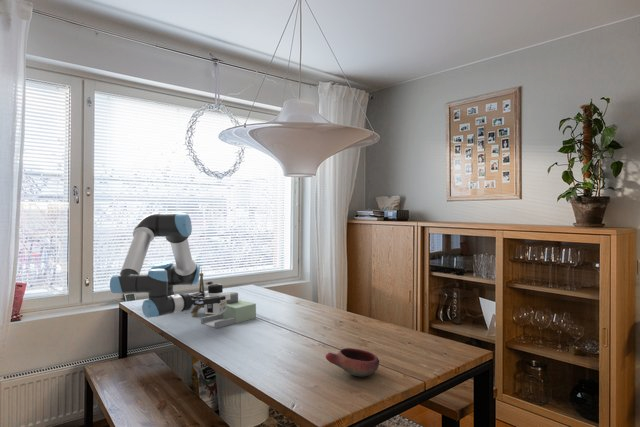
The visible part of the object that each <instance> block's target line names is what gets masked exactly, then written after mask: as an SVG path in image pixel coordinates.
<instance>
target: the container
mask: <svg viewBox="0 0 640 427" xmlns="http://www.w3.org/2000/svg"><path fill="white" fill-rule="evenodd" d="M223 289H224V286H223V285H222V284H221V283H212V284H209V285H208V287H207V292H208V294H209V295H208V296H206V297H214V296H218V295H223V293H224V292H223ZM203 309H204V314H206V315H208V314H221V313H223V312H225V311H226V310H227V305H226V300H225V301H220V303H219V304H218V303H215V304H207V305H204V308H203Z"/></svg>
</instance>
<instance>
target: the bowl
mask: <svg viewBox="0 0 640 427" xmlns="http://www.w3.org/2000/svg"><path fill="white" fill-rule="evenodd" d="M325 359H326V360H327V361H328V362H329V363H331V364H332V365H334V366H337V367H338V368H340V369H342V370H344V371H345V372H346V373H347V374H350V375H352V376H355V377H358V378H359V377H361V378H362V377H367V376H370V375H372V374H375V373H376V371H377V370H378V369H379V367H380V360H379V358H378V356H377V355H376V354H375V353H373V352H371V351H369V350H368V351H367V350H364V349H358V348H354V347H353V348H350V347H348V348H347V347H345V348H341V349H340V350H338V352H337V353H333V352H328V353H326V354H325Z"/></svg>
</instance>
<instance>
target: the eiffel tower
mask: <svg viewBox="0 0 640 427" xmlns="http://www.w3.org/2000/svg"><path fill="white" fill-rule="evenodd" d="M203 276H204V273H203V271H202V267H200V274H199V290H198V292H200V293H201V291H204V292H205V286H204V277H203ZM200 309H204V305H201V306H198V305H194V307H193V308H192V310H191V311H190V314H191V317H192V318H197V317H199V316H198V312H199V311H200ZM209 315H210V316H212V314H207V316H209Z"/></svg>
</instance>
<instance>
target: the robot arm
mask: <svg viewBox="0 0 640 427" xmlns="http://www.w3.org/2000/svg"><path fill="white" fill-rule="evenodd" d="M192 230H193V226H192V220H191V217H190V215H189V214H188V213H186V212H155V213H151V214H148V215H146V216H145V217H143V218H142V219H141V220H140V221H138V223H137V224H136V226H135V227H134V229H133V232H132V236H133V238H132V241H131V243H130V245H129V248H128V251H127V255H126V257H125V259H124V262H123V265H122V267H121V269H120V272H119V274H115V275H112V276H111V278H110V280H109V289H110V292H111V293H112V294H118V295H119V294H121V295H123V294H143V293H144V294H145V293H148V298H147V299H145V300H144V301H142V305H141V309H142V314H143V315H144V317H146V318H148V319H149V318H157V317H158V318H159V317H162V316H165V315H170V314H173V315H175V314H176V313H179V312H185V311H190V310H191V309H192V306H195V305H198V306H201V305H207V304H215V303H218V304H219V303H220V301H225V300H230V293H229V294H223V295H218V296H214V297H206V296H208V295H209V294H208V291H205V290H204V291H202V290H201V293H200V292H199V291H198V292H195V293H188V292H184V293H179V294H175V291H174V286H196V285H198V284H199V283H200V276H199V274H200V273H201V264H200V263H196V262H195V260H193V258H192V254H191V248H190V245H189V240H188V238H189V237H190V236H191V235H192V233H193V232H192ZM161 237H163V238H165V239H166V241H167V242H169V243H170V246H171V249H172V254H173V257H174V262H175V264H174V262H173V261H166V262H161V263H156V264H153V265H152V266H151V267H150V269H149V270H148V272H147V273H144V274H141V271H142V268H143V264H144V262H145V260H146V257H147V253H148V250H149V247H150V244H151V242H152V241H154V238H161Z"/></svg>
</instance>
